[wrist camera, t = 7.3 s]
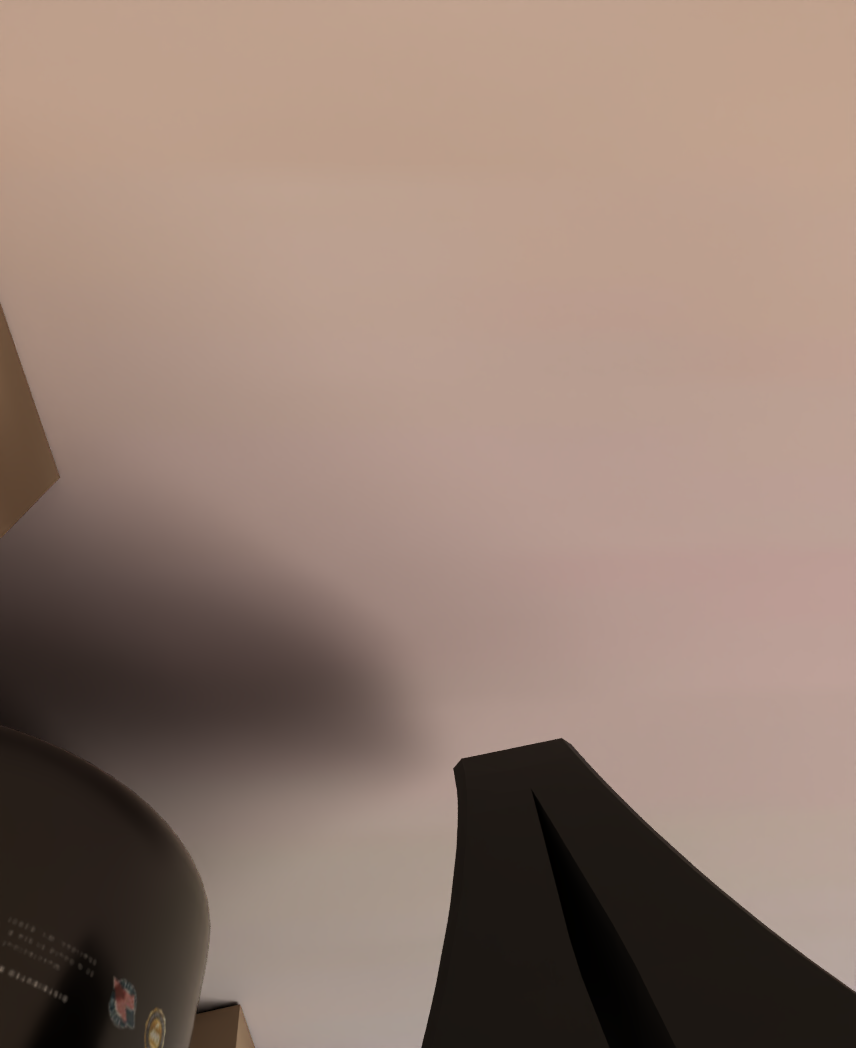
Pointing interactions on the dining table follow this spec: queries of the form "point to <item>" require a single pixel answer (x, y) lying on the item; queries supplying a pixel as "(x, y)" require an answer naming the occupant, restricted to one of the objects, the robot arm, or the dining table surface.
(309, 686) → the dining table surface
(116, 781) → the supplement bottle
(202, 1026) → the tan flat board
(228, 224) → the dining table surface
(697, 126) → the dining table surface
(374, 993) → the dining table surface
